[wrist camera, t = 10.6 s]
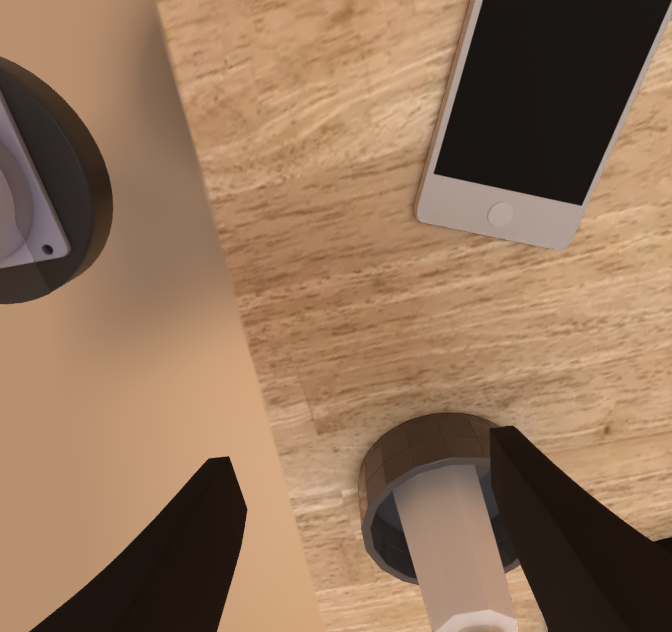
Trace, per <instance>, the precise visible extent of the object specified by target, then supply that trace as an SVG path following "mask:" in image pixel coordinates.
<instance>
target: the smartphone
mask: <svg viewBox="0 0 672 632" xmlns="http://www.w3.org/2000/svg"><path fill="white" fill-rule="evenodd" d="M671 16H672V0H470V3H469V7H468V10H467V14H466V18H465V21H464V25H463V29H462V32H461V36H460V39H459V43H458V47H457V50H456V54H455V58H454V61H453V65H452V69H451V72H450V76H449V80H448V83H447V87H446V91H445V94H444V98H443V101H442V105H441V109H440V112H439V116H438V120H437V123H436V127H435V131H434V134H433V138H432V142H431V145H430V149H429V152H428V156H427V160H426V163H425V167H424V171H423V174H422V178H421V182H420V185H419V189H418V193H417V196H416V200H415V204H414V215H415V217H416V218H417V219H418V221H420V222H422V223H427V224H432V225H437V226H442V227H447V228H452V229H456V230H461V231H466V232H471V233H476V234H481V235H486V236H491V237H496V238H500V239H505V240H510V241H515V242H520V243H525V244H530V245H535V246H540V247H544V248H549V249H554V250H559V251H561V250H564V249H565V248H567V246H568V245H569V244H570V242H571V241H572V239H573V237H574V235H575V232H576V230H577V228H578V226H579V223H580V221H581V219H582V217H583V214H584V212H585V210H586V208H587V205H588V203H589V201H590V199H591V196H592V194H593V192H594V190H595V187H596V185H597V183H598V181H599V178H600V176H601V174H602V172H603V169H604V167H605V165H606V163H607V160H608V158H609V156H610V154H611V151H612V149H613V147H614V145H615V142H616V140H617V138H618V136H619V133H620V131H621V129H622V127H623V124H624V122H625V120H626V118H627V115H628V113H629V111H630V109H631V106H632V104H633V102H634V100H635V97H636V95H637V93H638V91H639V88H640V86H641V84H642V82H643V79H644V77H645V75H646V73H647V70H648V68H649V66H650V64H651V61H652V59H653V57H654V55H655V52H656V50H657V48H658V46H659V43H660V41H661V39H662V37H663V34H664V32H665V30H666V28H667V25H668V23H669V21H670V19H671Z"/></svg>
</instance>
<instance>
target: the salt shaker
mask: <svg viewBox="0 0 672 632" xmlns="http://www.w3.org/2000/svg"><path fill="white" fill-rule="evenodd" d="M392 492H393V495H394V499H395V502H396V506H397V509H398V513H399V516H400V520H401V523H402V527H403V530H404V534H405V537H406V541H407V544H408V548H409V551H410V555H411V558H412V562H413V565H414V569H415V572H416V576H417V579H418V583H419V586H420V590H421V593H422V597H423V600H424V604H425V607H426V611H427V614H428V618H429V621H430V625H431V628H432V632H519V631H518V624H517V619H516V614H515V610H514V606H513V602H512V598H511V594H510V590H509V587H508V583H507V580H506V576H505V573H504V569H503V565H502V562H501V558H500V555H499V551H498V547H497V544H496V540H495V537H494V533H493V530H492V526H491V522H490V519H489V515H488V512H487V508H486V504H485V501H484V497H483V494H482V490H481V487H480V483H479V479H478V476H477V472H476V469H475V465H449V466H445V467H441V468H438V469H434V470H430V471H427V472H423V473H419V474H418V475H416V476H414V477H413V478H411V479H409V480H408V481H406V482H404V483H402V484H401V485H399V486H397V487H396V488H394V489H393V490H392Z"/></svg>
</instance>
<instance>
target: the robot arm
mask: <svg viewBox="0 0 672 632" xmlns="http://www.w3.org/2000/svg"><path fill="white" fill-rule="evenodd" d="M47 245H49V246H51V247H52V249H53V252H50V251H49V250H48V249H47ZM70 252H71V245H70V242H69V240H68V238H67V236H66V233H65V231H64V229H63V227H62V225H61V222H60V220H59V218H58V216H57V214H56V211H55V209H54V207H53V205H52V202H51V200H50V198H49V196H48V194H47V191H46V189H45V187H44V185H43V183H42V180H41V178H40V176H39V174H38V171H37V169H36V167H35V165H34V163H33V160H32V158H31V156H30V154H29V152H28V149H27V147H26V145H25V143H24V140H23V138H22V136H21V134H20V132H19V129H18V127H17V125H16V123H15V121H14V118H13V116H12V114H11V112H10V109H9V107H8V105H7V103H6V101H5V98H4V96H3V94H2V92H1V90H0V268H5V267H11V266H16V265H22V264H27V263H33V262H39V261H44V260H50V259H55V258H61V257H64V256H66V255H68V254H69V253H70ZM489 437H490V470H491V488H492V491H493V494H494V497H495V501H496V504H497V507H498V510H499V513H500V516H501V520H502V523H503V525H504V528H505V530H506V532H507V535H508V537H509V539H510V542H511V544H512V546H513V549H514V551H515V553H516V555H517V558H518V560H519V562H520V565H521V567H522V569H523V571H524V574H525V576H526V578H527V580H528V583H529V585H530V587H531V590H532V592H533V594H534V596H535V599H536V601H537V603H538V605H539V608H540V610H541V612H542V615H543V617H544V620H545V622H546V625H547V627H548V630H549V632H672V554H671V553H669V552H667V551H666V550H664V549H663V548H661V547H660V546H658V545H657V544H656V543H654V542H653V541H651V540H650V539H648V538H647V537H645V536H644V535H642V534H641V533H640V532H638V531H637V530H635V529H634V528H633V527H631V526H630V525H629V524H627V523H626V522H624V521H623V520H622V519H620V518H619V517H618V516H616V515H615V514H614V513H613V512H611V511H610V510H609V509H607V508H606V507H605V506H604V505H602V504H601V503H600V502H598V501H597V500H596V499H595V498H593V497H592V496H591V495H590V494H589V493H587V492H586V491H585V490H584V489H583V488H581V487H580V486H579V485H578V484H577V483H576V482H574V481H573V480H572V479H571V478H570V477H569V476H567V475H566V474H565V473H564V472H563V471H562V470H560V469H559V468H558V467H557V466H556V465H555V464H554V463H553V462H552V461H550V460H549V459H548V458H547V457H546V456H545V455H544V454H543V453H542V452H541V451H540V450H539V449H538V448H536V447H535V446H534V445H533V444H532V443H531V442H530V441H529V440H528V439H527V438H526V437H525V436H524V435H523V434H522V433H521V432H520V431H519V430H518V429H517V428H515V427H514V426H505V427H495V428H489ZM246 514H247V507H246V504H245V501H244V498H243V495H242V492H241V489H240V486H239V484H238V481H237V478H236V475H235V472H234V469H233V466H232V463H231V461H230V458H229V456H228V457H219V458H210V459H208V460H207V461H206V462H205V463H204V464H203V465H202V466H201V468H199V470H198V471H197V472H196V473H195V474H194V475H193V476H192V477H191V479H190V480H189V481H188V482H187V483H186V484H185V485H184V486H183V488H182V489H181V490H180V491H179V492H178V493H177V494H176V496H175V497H174V498H173V499H172V500H171V501H170V502H169V503H168V505H167V506H166V507H165V508H164V509H163V510H162V511H161V512H160V513H159V514H158V516H156V518H155V519H154V520H153V521H152V522H151V523H150V524H149V525H148V526H147V527H146V528H145V529H144V530H143V531H142V532H141V533H140V534H139V535H138V536H137V537H136V538H135V539H134V540H133V541H132V542H131V543H130V544H129V545H128V547H126V548H125V550H124V551H123V552H122V553H121V554H119V555H118V556H117V558H115V559H114V560H113V561H112V562H111V563H110V564H109V565H108V566H107V567H106V568H105V569H104V570H103V571H101V572H100V573H99V574H98V575H97V576H96V577H95V578H94V579H92V580H91V581H90V582H89V583H88V584H87V585H86V586H85V587H84V588H82V589H81V590H80V591H79V592H78V593H77V594H75V596H73V597H72V598H70V600H68V601H67V602H66V603H64V604H63V605H62V606H61V607H59V608H58V609H57V610H56V611H55V612H53V613H52V614H51V615H49V616H48V617H47V618H46V619H45V620H43V621H42V622H41V623H40V624H38V625H37V626H36V627H35V628H33V629H32V630H31V631H29V632H217V629H218V626H219V622H220V619H221V615H222V612H223V609H224V605H225V602H226V598H227V594H228V591H229V588H230V585H231V581H232V578H233V574H234V570H235V567H236V564H237V560H238V557H239V553H240V549H241V545H242V539H243V534H244V528H245V521H246Z"/></svg>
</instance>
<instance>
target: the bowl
mask: <svg viewBox="0 0 672 632" xmlns="http://www.w3.org/2000/svg"><path fill="white" fill-rule="evenodd" d="M495 427H499V426H497V425H495V424H494V423H492V422H490V421H488V420H485V419H482V418H480V417H476V416H472V415H467V414H459V413H442V414H433V415H428V416H423V417H420V418H416V419H413V420H410V421H408V422H406V423H403V424H401V425H399V426H398V427H396V428H394V429H392V430H391V431H389V432H388V433H387V434H385V435H384V436H383V437H382V438H381V439H379V440H378V441H377V442H376V443H375V445H374V446H373V447H372V448H371V449H370V451H369V452H368V454H367V456H366V457H365V459H364V461H363V464H362V466H361V470H360V474H359V485H358V489H359V503H360V517H361V530H362V535H363V539H364V544H365V548H366V551H367V553H368V554H369V555H370V556H371V557H372V559H373V560H374V561H375V562H376V564H377V565H378V566H379V567H380V568H381V569H382V570H384V571H385V572H387V573H389V574H391V575H393V576H394V577H396V578H398V579H400V580H401V581H404V582H408V583H412V584H416V585H419V583H418V579H417V576H416V572H415V569H414V565H413V562H412V558H411V555H410V551H409V548H408V544H407V541H406V537H405V534H404V530H403V527H402V523H401V520H400V516H399V513H398V509H397V506H396V502H395V499H394V495H393V492H392V490H393V489H394V488H396V487H397V486H399V485H401V484H402V483H404V482H406V481H408V480H409V479H411V478H413V477H414V476H416V475H418V474H419V473H423V472H427V471H430V470H434V469H438V468H441V467H445V466H449V465H475V469H476V472H477V476H478V479H479V483H480V487H481V490H482V494H483V497H484V501H485V504H486V508H487V512H488V515H489V519H490V522H491V526H492V530H493V533H494V537H495V540H496V544H497V547H498V551H499V555H500V558H501V562H502V565H503V569H504V573H507V572H509V571H511V570H513V569H515V568H516V567H518V566H519V565H520V562H519V560H518V558H517V555H516V553H515V551H514V549H513V546H512V544H511V542H510V539H509V537H508V535H507V532H506V530H505V528H504V525H503V523H502V520H501V516H500V513H499V510H498V507H497V504H496V501H495V497H494V494H493V491H492V488H491V470H490V437H489V428H495Z"/></svg>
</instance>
